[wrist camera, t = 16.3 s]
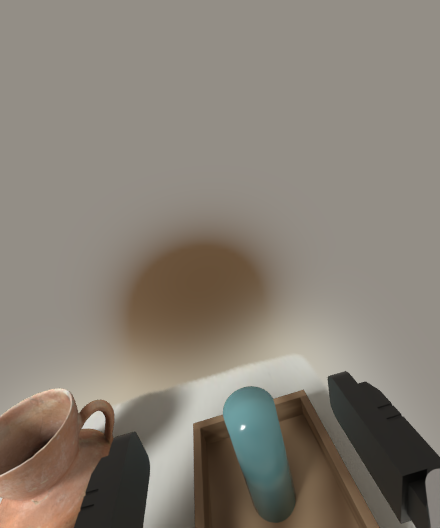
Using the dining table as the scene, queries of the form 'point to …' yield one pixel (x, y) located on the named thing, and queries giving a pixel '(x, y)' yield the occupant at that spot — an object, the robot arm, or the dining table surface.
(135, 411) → the dining table surface
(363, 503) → the walnut crate
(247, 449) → the teal canister
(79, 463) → the ceramic jug
